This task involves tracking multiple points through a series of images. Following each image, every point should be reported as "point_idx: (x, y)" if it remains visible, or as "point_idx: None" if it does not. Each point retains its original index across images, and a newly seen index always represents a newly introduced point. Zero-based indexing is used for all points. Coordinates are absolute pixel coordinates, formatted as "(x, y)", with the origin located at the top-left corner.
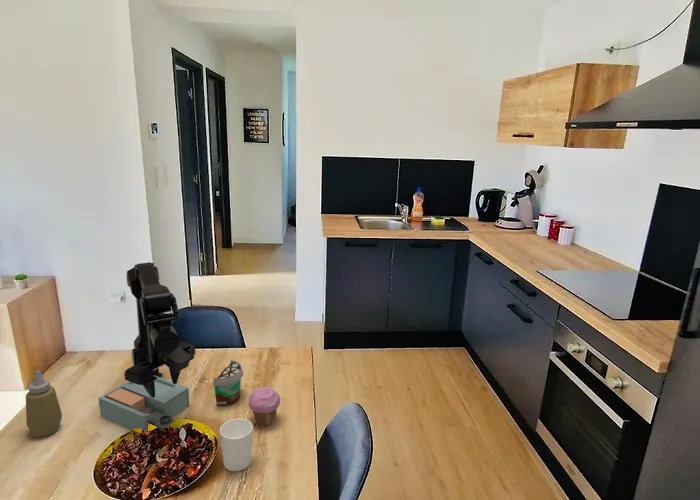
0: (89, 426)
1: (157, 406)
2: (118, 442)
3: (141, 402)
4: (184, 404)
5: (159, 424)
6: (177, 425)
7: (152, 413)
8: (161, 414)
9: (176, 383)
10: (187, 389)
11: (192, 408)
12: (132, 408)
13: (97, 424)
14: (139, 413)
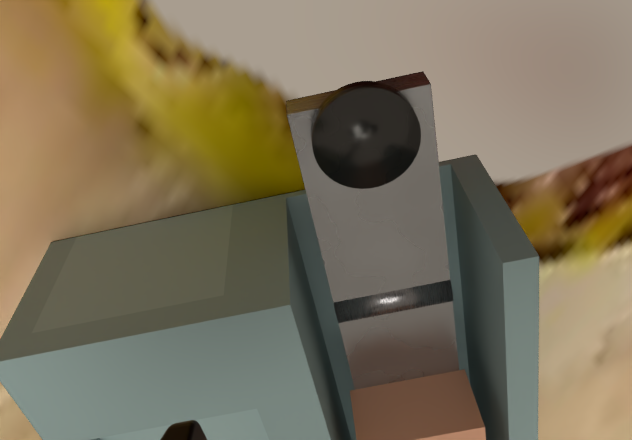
0: (578, 423)
1: (307, 328)
2: (609, 219)
3: (382, 421)
4: (89, 256)
5: (431, 125)
6: (245, 95)
7: (373, 287)
8: (333, 233)
9: (176, 424)
10: (4, 351)
11: (45, 198)
12: (465, 402)
13: (547, 415)
14: (523, 314)
